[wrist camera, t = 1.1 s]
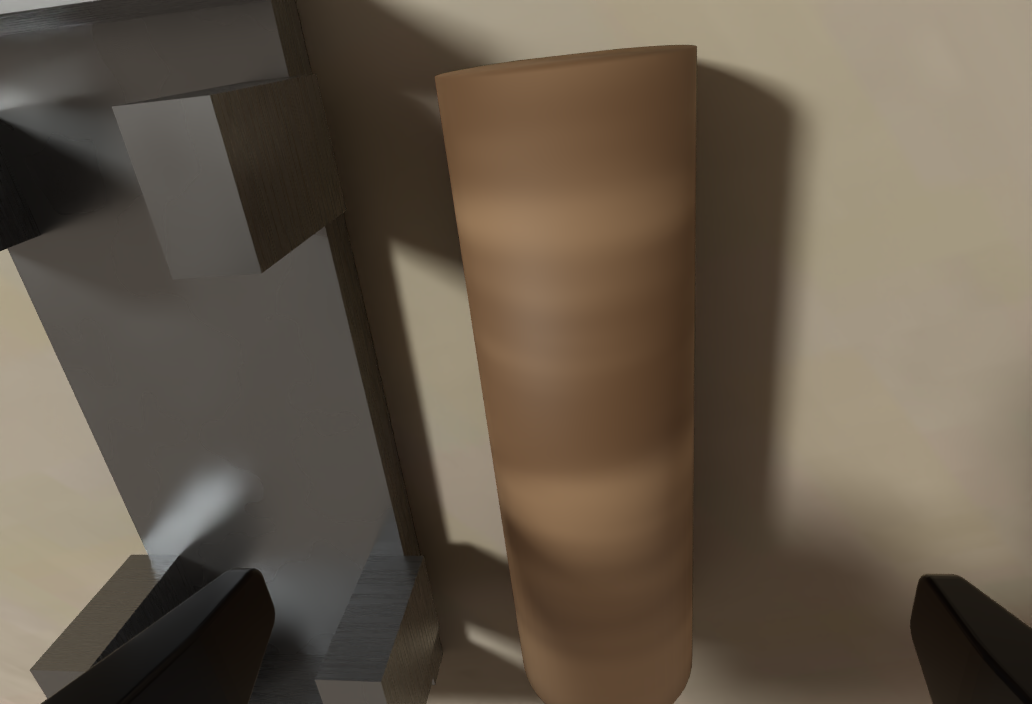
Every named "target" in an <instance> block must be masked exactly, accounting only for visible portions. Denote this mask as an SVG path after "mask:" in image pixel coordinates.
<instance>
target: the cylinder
mask: <svg viewBox="0 0 1032 704" xmlns="http://www.w3.org/2000/svg"><path fill="white" fill-rule="evenodd" d="M435 83H436V89H437V96H438V103H439V109H440V116H441V122H442V129H443V136H444V142H445V149H446V155H447V162H448V169H449V175H450V182H451V188H452V195H453V202H454V208H455V215H456V221H457V228H458V234H459V241H460V248H461V254H462V261H463V267H464V274H465V281H466V287H467V294H468V300H469V307H470V314H471V320H472V327H473V333H474V340H475V346H476V353H477V360H478V366H479V373H480V379H481V386H482V393H483V399H484V406H485V412H486V419H487V426H488V432H489V439H490V445H491V452H492V458H493V465H494V472H495V478H496V485H497V491H498V498H499V505H500V511H501V518H502V524H503V531H504V538H505V544H506V551H507V557H508V564H509V570H510V577H511V584H512V590H513V597H514V603H515V610H516V617H517V623H518V630H519V636H520V643H521V650H522V656H523V663H524V669H525V672H526V675H527V678H528V680H529V682H530V684H531V686H532V688H533V689H534V691H535V692H536V694H537V695H538V696H539V697H540V698H541V699H542V700H543V702H544V703H545V704H673V703H674V702H675V701H676V699H677V698H678V697H679V696H680V695H681V693H682V691H683V690H684V688H685V686H686V684H687V682H688V679H689V677H690V672H691V668H692V615H693V483H694V352H695V220H696V88H697V46H694V45H665V46H649V47H636V48H624V49H614V50H605V51H596V52H587V53H579V54H570V55H561V56H552V57H544V58H535V59H526V60H518V61H511V62H504V63H497V64H491V65H484V66H478V67H472V68H467V69H461V70H456V71H451V72H447V73H443V74H439V75H437V76H435Z"/></svg>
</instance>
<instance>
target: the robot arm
mask: <svg viewBox="0 0 1032 704" xmlns="http://www.w3.org/2000/svg"><path fill="white" fill-rule="evenodd" d="M274 622H275V608H274V604H273V602H272V599H271V596H270V593H269V591H268V588H267V585H266V583H265V580H264V577H263V575H262V573H261V572H260V571H259V570H258V569H255V568H233V569H230V570H228V571H226V572H224V573H223V574H222V575H220V576H219V577H217V578H216V579H215V580H213V581H212V582H210V583H209V584H208V585H206V586H205V587H203V588H202V589H201V590H199V591H198V592H196V593H195V594H194V595H192V596H191V597H189V598H188V599H187V600H185V601H184V602H182V603H181V604H180V605H178V606H177V607H175V608H174V609H173V610H171V611H170V612H168V613H167V614H166V615H164V616H163V617H161V618H160V619H159V620H157V621H156V622H154V623H153V624H152V625H150V626H149V627H147V628H146V629H145V630H143V631H142V632H140V633H139V634H138V635H136V636H135V637H133V638H132V639H131V640H129V641H128V642H126V643H125V644H124V645H122V646H121V647H119V648H118V649H117V650H115V651H114V652H112V653H111V654H110V655H108V656H107V657H105V658H104V659H103V660H101V661H100V662H98V663H97V664H96V665H94V666H93V667H91V668H90V669H89V670H87V671H86V672H84V673H83V674H82V675H80V676H79V677H77V678H76V679H75V680H73V681H72V682H70V683H69V684H68V685H66V686H65V687H63V688H62V689H61V690H59V691H58V692H56V693H55V694H54V695H52V696H51V697H49V698H48V699H47V700H45V701H44V702H42V703H41V704H248V703H249V700H250V697H251V694H252V691H253V688H254V685H255V682H256V679H257V676H258V673H259V670H260V667H261V663H262V660H263V657H264V654H265V651H266V648H267V645H268V642H269V639H270V636H271V633H272V630H273V626H274ZM910 629H911V635H912V640H913V643H914V646H915V649H916V652H917V655H918V659H919V662H920V665H921V668H922V671H923V674H924V677H925V680H926V683H927V687H928V690H929V693H930V696H931V699H932V702H933V704H1032V629H1031V628H1030V627H1029V626H1027V625H1026V624H1025V623H1023V622H1022V621H1021V620H1019V619H1018V618H1017V617H1015V616H1014V615H1013V614H1011V613H1010V612H1009V611H1007V610H1006V609H1004V608H1003V607H1002V606H1000V605H999V604H998V603H996V602H995V601H994V600H992V599H991V598H990V597H988V596H987V595H986V594H984V593H983V592H982V591H980V590H979V589H977V588H976V587H975V586H973V585H972V584H971V583H969V582H968V581H967V580H965V579H964V578H962V577H960V576H958V575H954V574H925V575H923V576H921V578H920V579H919V582H918V585H917V590H916V595H915V600H914V605H913V610H912V614H911V620H910Z"/></svg>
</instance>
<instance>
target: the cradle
mask: <svg viewBox="0 0 1032 704" xmlns="http://www.w3.org/2000/svg"><path fill="white" fill-rule="evenodd" d="M344 211H346V206H345V202H344V197H343V193H342V188H341V184H340V179H339V175H338V170H337V166H336V161H335V157H334V152H333V148H332V143H331V139H330V134H329V130H328V126H327V121H326V117H325V112H324V108H323V103H322V99H321V94H320V90H319V85H318V81H317V76H316V74H312V73H311V68H310V64H309V59H308V55H307V51H306V46H305V42H304V37H303V33H302V28H301V24H300V20H299V15H298V11H297V6H296V2H295V0H0V251H2V250H4V249H7V248H8V250H9V253H10V255H11V257H12V259H13V261H14V264H15V266H16V268H17V270H18V272H19V274H20V277H21V279H22V281H23V283H24V285H25V287H26V290H27V292H28V294H29V296H30V298H31V301H32V303H33V305H34V307H35V309H36V311H37V314H38V316H39V318H40V320H41V322H42V325H43V327H44V329H45V331H46V333H47V335H48V338H49V340H50V342H51V344H52V346H53V348H54V351H55V353H56V355H57V357H58V359H59V362H60V364H61V366H62V368H63V370H64V372H65V375H66V377H67V379H68V381H69V383H70V386H71V388H72V390H73V392H74V394H75V396H76V399H77V401H78V403H79V405H80V407H81V410H82V412H83V414H84V416H85V418H86V420H87V423H88V425H89V427H90V429H91V431H92V433H93V436H94V438H95V440H96V442H97V444H98V447H99V449H100V451H101V453H102V455H103V457H104V460H105V462H106V464H107V466H108V468H109V471H110V473H111V475H112V477H113V479H114V481H115V484H116V486H117V488H118V490H119V492H120V495H121V497H122V499H123V501H124V503H125V505H126V508H127V510H128V512H129V514H130V516H131V518H132V521H133V523H134V525H135V527H136V529H137V532H138V534H139V536H140V538H141V540H142V542H143V545H144V547H145V549H146V551H147V553H148V555H131V556H130V557H129V558H128V559H127V560H126V561H125V562H124V564H123V565H122V566H121V567H120V568H119V569H118V570H117V571H116V573H115V574H114V575H113V576H112V577H111V578H110V579H109V581H108V582H107V583H106V584H105V585H104V586H103V587H102V589H101V590H100V591H99V592H98V593H97V594H96V595H95V596H94V598H93V599H92V600H91V601H90V602H89V603H88V604H87V606H86V607H85V608H84V609H83V610H82V611H81V612H80V613H79V615H78V616H77V617H76V618H75V619H74V620H73V621H72V623H71V624H70V625H69V626H68V627H67V628H66V629H65V631H64V632H63V633H62V634H61V635H60V636H59V637H58V638H57V640H56V641H55V642H54V643H53V644H52V645H51V646H50V648H49V649H48V650H47V651H46V652H45V653H44V654H43V655H42V657H41V658H40V659H39V660H38V661H37V662H36V663H35V665H34V666H33V667H32V668H31V669H30V671H31V673H32V674H33V676H34V678H35V679H36V681H37V683H38V684H39V686H40V687H41V689H42V691H43V692H44V694H45V695H46V697H47V699H48V698H49V697H51V696H52V695H54V694H55V693H56V692H58V691H59V690H61V689H62V688H63V687H65V686H66V685H68V684H69V683H70V682H72V681H73V680H75V679H76V678H77V677H79V676H80V675H82V674H83V673H84V672H86V671H87V670H89V669H90V668H91V667H93V666H94V665H96V664H97V663H98V662H100V661H101V660H103V659H104V658H105V657H107V656H108V655H110V654H111V653H112V652H114V651H115V650H117V649H118V648H119V647H121V646H122V645H124V644H125V643H126V642H128V641H129V640H131V639H132V638H133V637H135V636H136V635H138V634H139V633H140V632H142V631H143V630H145V629H146V628H147V627H149V626H150V625H152V624H153V623H154V622H156V621H157V620H159V619H160V618H161V617H163V616H164V615H166V614H167V613H168V612H170V611H171V610H173V609H174V608H175V607H177V606H178V605H180V604H181V603H182V602H184V601H185V600H187V599H188V598H189V597H191V596H192V595H194V594H195V593H196V592H198V591H199V590H201V589H202V588H203V587H205V586H206V585H208V584H209V583H210V582H212V581H213V580H215V579H216V578H217V577H219V576H220V575H222V574H223V573H224V572H226V571H228V570H230V569H233V568H255V569H258V570H259V571H260V572H261V573H262V575H263V577H264V580H265V583H266V585H267V588H268V591H269V593H270V596H271V599H272V602H273V604H274V608H275V622H274V626H273V630H272V633H271V636H270V639H269V642H268V645H267V648H266V651H265V654H264V657H263V660H262V663H261V667H260V670H259V673H258V676H257V679H256V682H255V685H254V688H253V691H252V694H251V697H250V700H249V703H248V704H426V703H427V699H428V695H429V691H430V688H431V685H435V683H436V679H437V675H438V671H439V667H440V663H441V659H442V655H443V653H442V648H441V644H440V639H439V635H438V628H439V623H438V618H437V614H436V609H435V605H434V600H433V596H432V591H431V587H430V582H429V578H428V573H427V569H426V564H425V560H424V556H421V555H420V551H419V546H418V542H417V538H416V533H415V529H414V524H413V520H412V515H411V511H410V507H409V502H408V498H407V493H406V489H405V484H404V480H403V476H402V471H401V467H400V462H399V458H398V453H397V449H396V445H395V440H394V436H393V431H392V427H391V422H390V418H389V414H388V409H387V405H386V400H385V396H384V391H383V387H382V383H381V378H380V374H379V369H378V365H377V360H376V356H375V352H374V347H373V343H372V338H371V334H370V329H369V325H368V321H367V316H366V312H365V307H364V303H363V299H362V294H361V290H360V285H359V281H358V276H357V272H356V268H355V263H354V259H353V254H352V250H351V245H350V241H349V237H348V232H347V228H346V223H345V219H344V214H343V212H344Z"/></svg>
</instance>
